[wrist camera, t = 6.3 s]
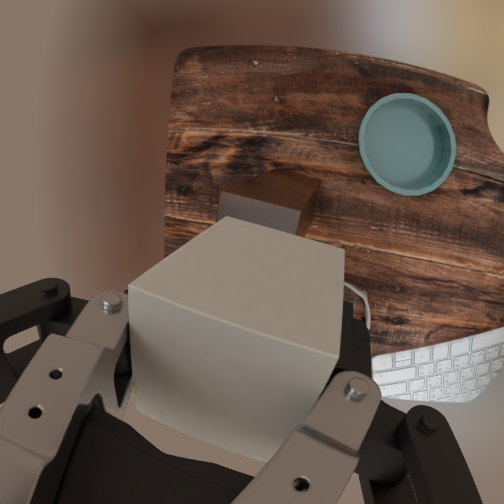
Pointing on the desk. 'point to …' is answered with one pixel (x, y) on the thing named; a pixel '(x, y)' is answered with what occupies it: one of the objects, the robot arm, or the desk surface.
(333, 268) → the block
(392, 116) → the bowl
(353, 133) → the desk surface
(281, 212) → the block
